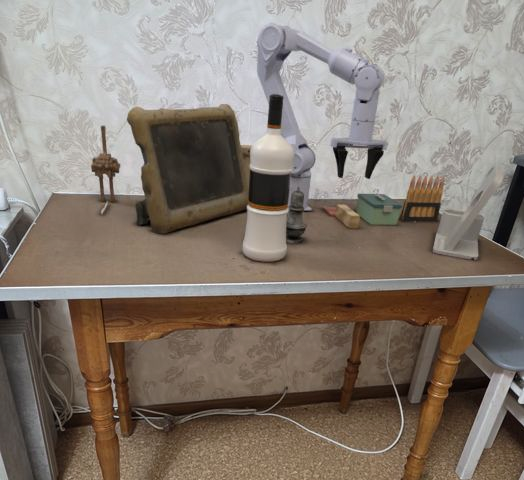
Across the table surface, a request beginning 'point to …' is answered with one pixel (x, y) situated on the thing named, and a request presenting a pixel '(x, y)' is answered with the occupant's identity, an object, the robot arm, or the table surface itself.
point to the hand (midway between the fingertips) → (353, 177)
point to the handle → (246, 161)
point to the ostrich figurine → (105, 168)
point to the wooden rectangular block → (344, 215)
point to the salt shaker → (295, 218)
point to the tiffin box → (378, 209)
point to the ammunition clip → (423, 200)
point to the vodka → (269, 190)
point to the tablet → (188, 165)
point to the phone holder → (466, 222)
